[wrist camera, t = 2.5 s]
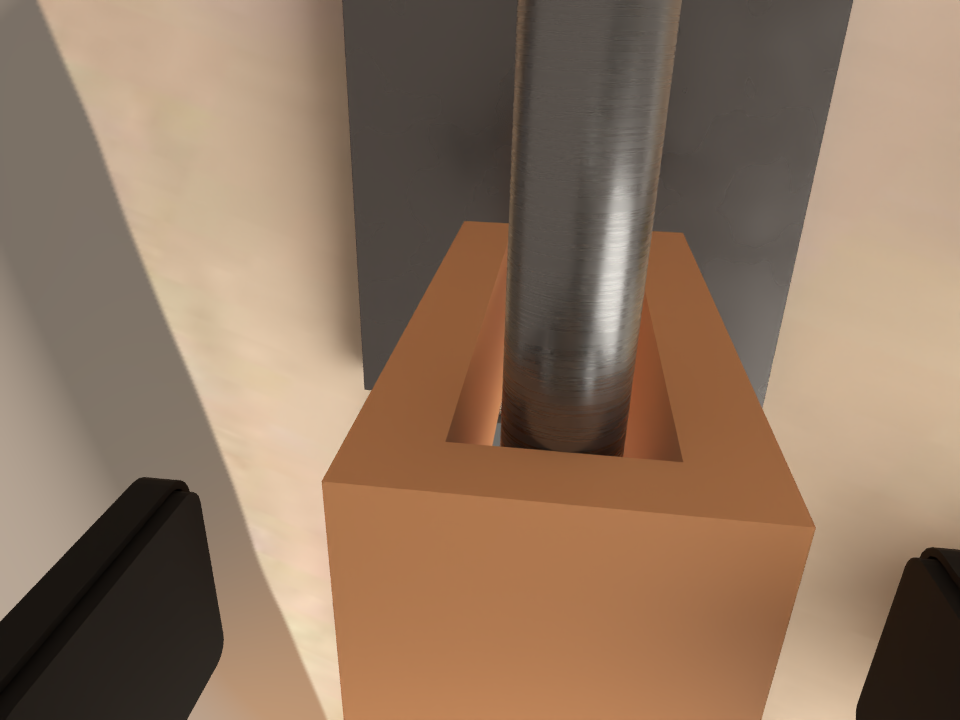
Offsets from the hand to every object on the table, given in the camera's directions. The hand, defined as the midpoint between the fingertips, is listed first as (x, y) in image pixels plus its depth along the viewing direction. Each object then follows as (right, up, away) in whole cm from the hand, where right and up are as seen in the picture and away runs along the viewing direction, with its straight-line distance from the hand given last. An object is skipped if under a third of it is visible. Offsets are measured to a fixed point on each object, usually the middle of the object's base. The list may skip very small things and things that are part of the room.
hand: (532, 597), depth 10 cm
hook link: (+2, +5, +8) cm, 10 cm away
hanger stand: (+2, +11, +13) cm, 17 cm away
